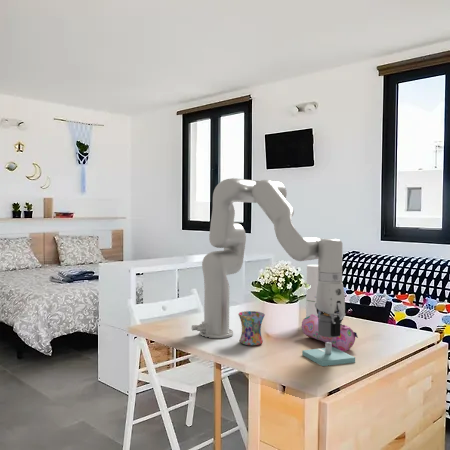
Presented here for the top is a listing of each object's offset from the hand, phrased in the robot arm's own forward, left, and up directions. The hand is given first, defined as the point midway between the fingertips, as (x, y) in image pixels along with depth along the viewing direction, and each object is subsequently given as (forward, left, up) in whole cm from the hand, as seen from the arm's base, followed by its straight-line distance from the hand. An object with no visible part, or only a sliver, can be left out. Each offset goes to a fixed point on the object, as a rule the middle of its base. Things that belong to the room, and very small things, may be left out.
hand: (329, 332), depth 153 cm
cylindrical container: (+19, +39, -9) cm, 44 cm away
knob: (0, 0, -1) cm, 1 cm away
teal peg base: (0, 0, -8) cm, 8 cm away
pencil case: (+9, +15, -9) cm, 20 cm away
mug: (-16, +25, -9) cm, 31 cm away
